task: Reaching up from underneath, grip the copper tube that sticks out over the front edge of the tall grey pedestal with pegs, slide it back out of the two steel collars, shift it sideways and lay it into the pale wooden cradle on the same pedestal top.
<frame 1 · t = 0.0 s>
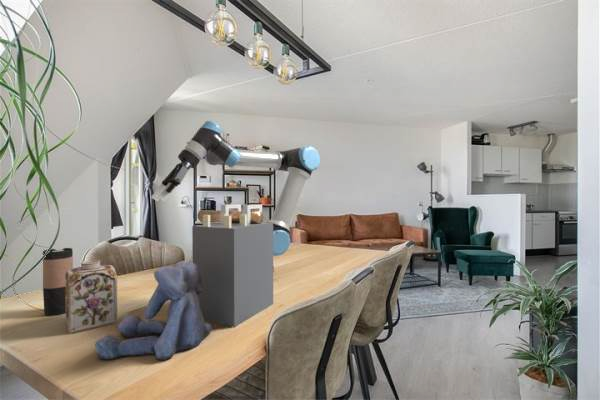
hand: (157, 199, 112), 36 cm above the table, tool tilted 35°, fingers open, 13 cm apart
grey pedestal with pegs: (235, 310, 100), on the table
elephant: (160, 342, 79), on the table
copper tube: (229, 222, 108), point 28 cm above the table, touching grey pedestal with pegs
travel mug: (58, 312, 99), on the table
decorative jar: (91, 322, 91), on the table
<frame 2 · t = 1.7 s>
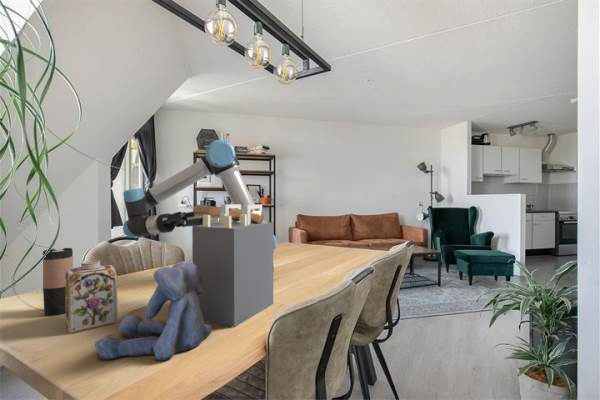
hand: (211, 215, 119), 30 cm above the table, tool horizontal, fingers open, 11 cm apart
copper tube: (229, 218, 108), point 29 cm above the table, tilted 32°, touching gripper, grey pedestal with pegs
everything else where it was.
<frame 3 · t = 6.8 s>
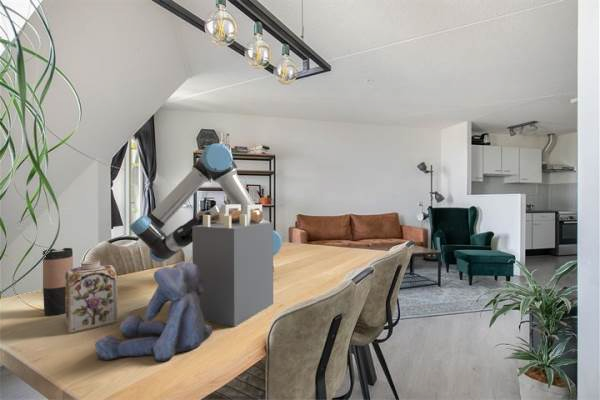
hand: (221, 208, 109), 33 cm above the table, tool pointing upward, fingers closed on copper tube, 4 cm apart
copper tube: (229, 221, 108), point 28 cm above the table, tilted 16°, touching gripper, grey pedestal with pegs
everything else where it was.
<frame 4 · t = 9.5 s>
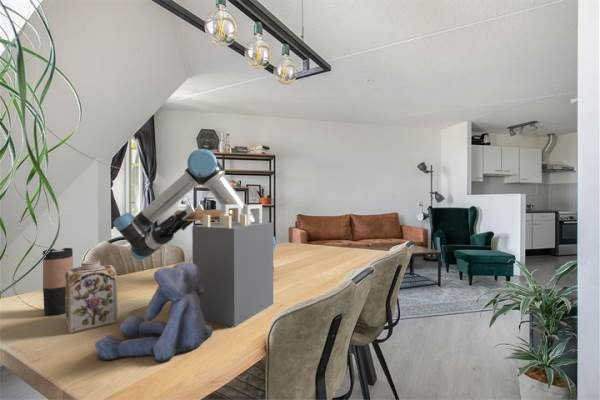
hand: (197, 207, 114), 33 cm above the table, tool pointing upward, fingers closed on copper tube, 4 cm apart
copper tube: (204, 220, 113), point 28 cm above the table, tilted 16°, touching gripper
everything else where it was.
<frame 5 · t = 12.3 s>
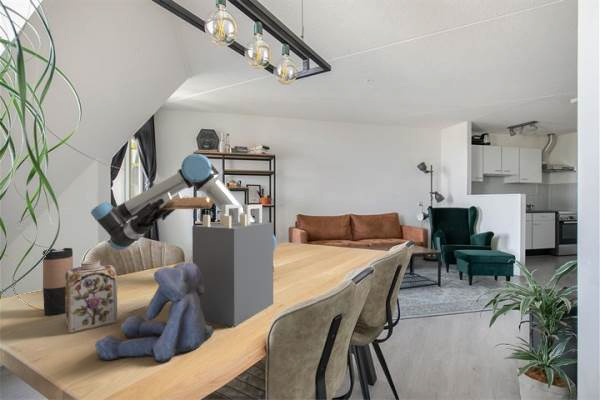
hand: (175, 196, 110), 37 cm above the table, tool pointing upward, fingers closed on copper tube, 4 cm apart
copper tube: (182, 208, 109), point 33 cm above the table, tilted 15°, touching gripper
everything else where it was.
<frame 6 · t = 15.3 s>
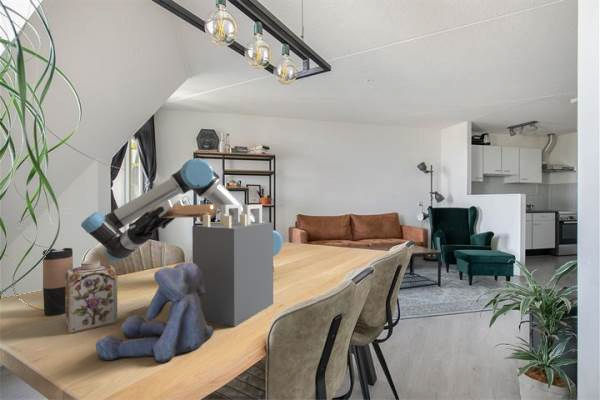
hand: (176, 203, 102), 35 cm above the table, tool pointing upward, fingers closed on copper tube, 4 cm apart
copper tube: (184, 217, 101), point 30 cm above the table, tilted 16°, touching gripper
when the fingers open (35 cm above the table, at t = 18.1 s): copper tube drops 2 cm, resting on grey pedestal with pegs.
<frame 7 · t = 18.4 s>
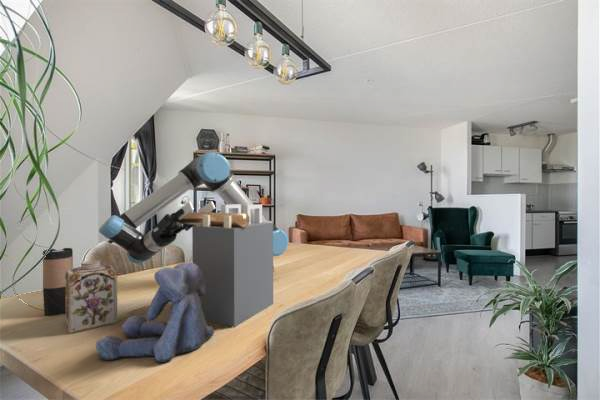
hand: (202, 205, 98), 34 cm above the table, tool pointing upward, fingers open, 9 cm apart
copper tube: (212, 225, 97), point 28 cm above the table, tilted 12°, touching grey pedestal with pegs
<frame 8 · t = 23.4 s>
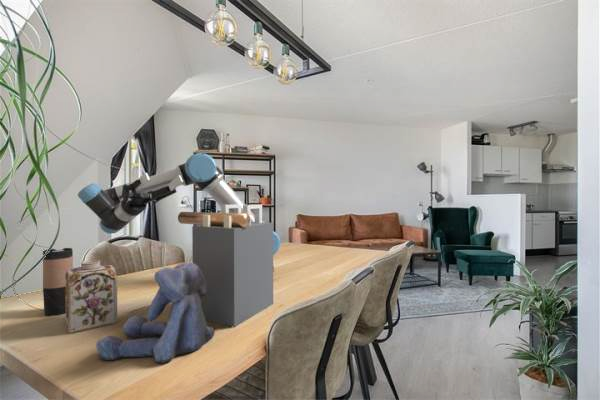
hand: (165, 177, 105), 44 cm above the table, tool pointing upward, fingers open, 13 cm apart
copper tube: (212, 225, 97), point 28 cm above the table, touching grey pedestal with pegs
at the end: copper tube inside the target area (0.7 cm from its centre), point 28.0 cm above the table; the gripper is holding nothing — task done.
